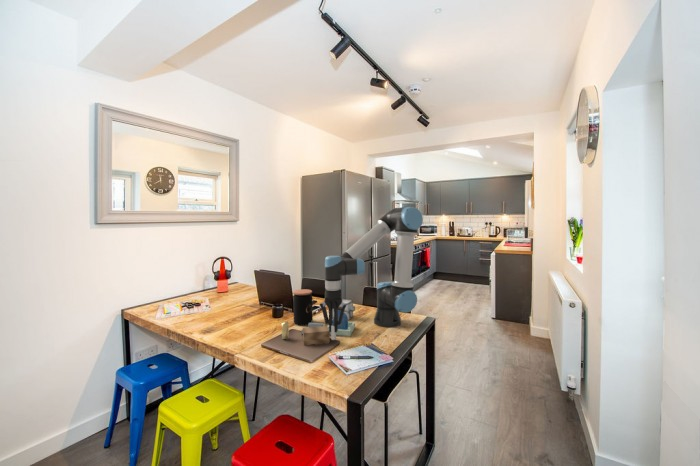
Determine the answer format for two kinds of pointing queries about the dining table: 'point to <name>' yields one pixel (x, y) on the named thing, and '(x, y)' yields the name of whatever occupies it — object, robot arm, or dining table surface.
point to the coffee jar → (302, 307)
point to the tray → (345, 332)
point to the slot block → (313, 325)
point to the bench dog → (285, 330)
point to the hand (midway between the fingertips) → (333, 338)
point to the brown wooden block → (316, 335)
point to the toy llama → (348, 308)
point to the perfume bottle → (344, 320)
